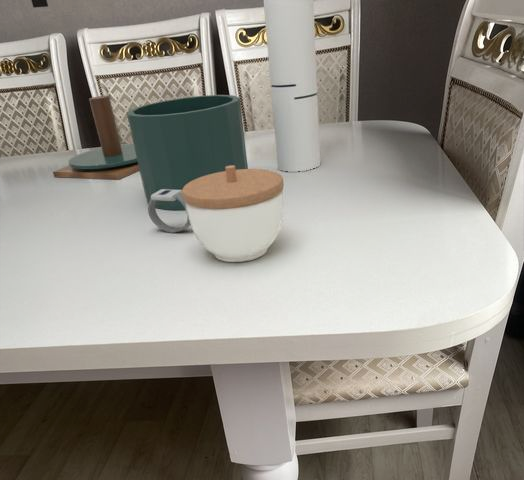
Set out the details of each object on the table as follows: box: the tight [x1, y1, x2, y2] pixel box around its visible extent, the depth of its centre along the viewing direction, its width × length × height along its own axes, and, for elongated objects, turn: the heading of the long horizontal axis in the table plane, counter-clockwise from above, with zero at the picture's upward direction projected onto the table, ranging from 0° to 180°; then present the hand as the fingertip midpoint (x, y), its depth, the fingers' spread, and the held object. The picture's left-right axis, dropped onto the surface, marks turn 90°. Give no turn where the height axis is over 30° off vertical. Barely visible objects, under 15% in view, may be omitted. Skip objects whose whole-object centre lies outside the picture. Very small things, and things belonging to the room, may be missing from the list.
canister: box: [126, 94, 249, 211], centre depth 77 cm, size 16×16×12 cm
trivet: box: [52, 162, 140, 181], centre depth 102 cm, size 16×16×1 cm
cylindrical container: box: [263, 0, 321, 173], centre depth 81 cm, size 7×7×25 cm
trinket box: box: [182, 165, 285, 263], centre depth 57 cm, size 11×11×9 cm
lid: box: [68, 95, 137, 170], centre depth 99 cm, size 17×17×11 cm
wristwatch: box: [147, 189, 191, 234], centre depth 66 cm, size 6×3×5 cm, turn 66°
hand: (70, 3), depth 88 cm, fingers open, 13 cm apart
